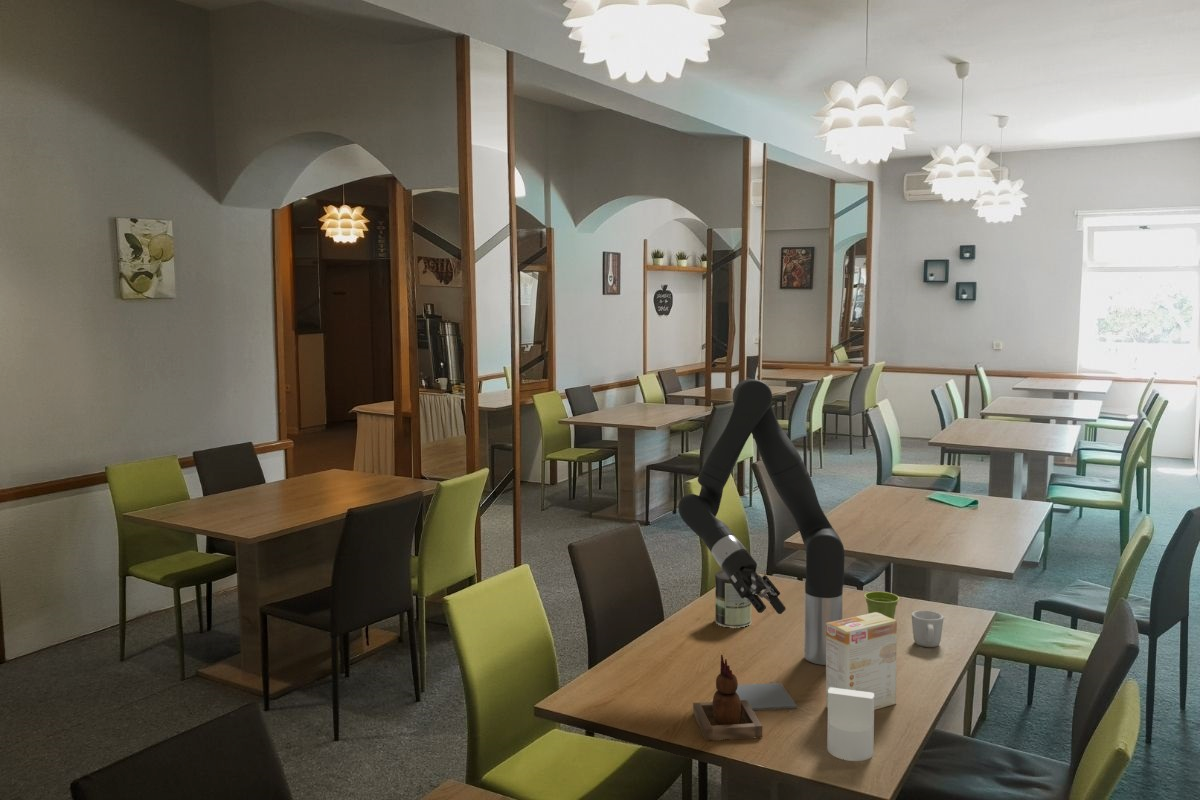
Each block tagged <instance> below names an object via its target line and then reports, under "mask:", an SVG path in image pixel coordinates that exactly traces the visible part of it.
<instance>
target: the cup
mask: <svg viewBox="0 0 1200 800" xmlns="http://www.w3.org/2000/svg"><path fill="white" fill-rule="evenodd" d="M944 619H945V617H944V615H943V614H942V613H940V612H936V611H933V610H925V609H922V610H915V611H913V612H911V624H912V625H911V626H912V635H913V641H914V642H915V644H916V645H918V646H921V647H924V648H936V647H938V646H939V645H940V643H941V641H942V632H943V625H944Z"/></svg>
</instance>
